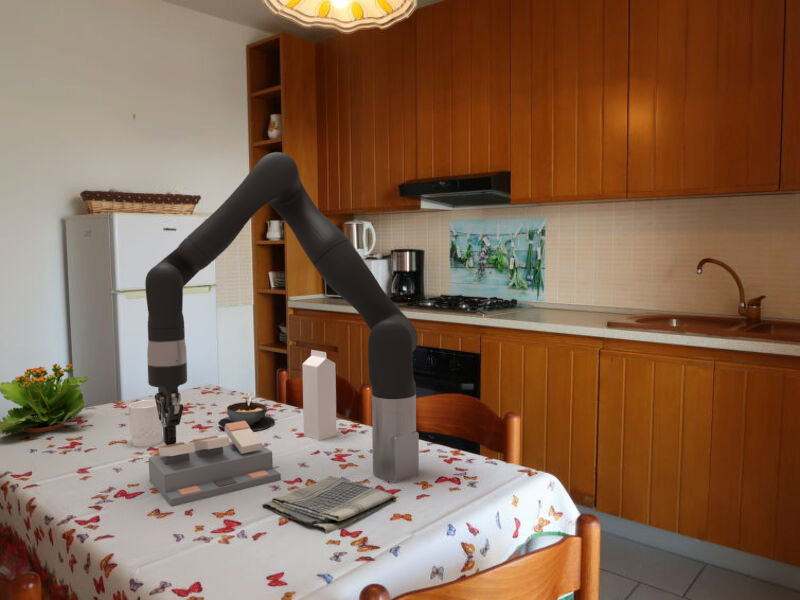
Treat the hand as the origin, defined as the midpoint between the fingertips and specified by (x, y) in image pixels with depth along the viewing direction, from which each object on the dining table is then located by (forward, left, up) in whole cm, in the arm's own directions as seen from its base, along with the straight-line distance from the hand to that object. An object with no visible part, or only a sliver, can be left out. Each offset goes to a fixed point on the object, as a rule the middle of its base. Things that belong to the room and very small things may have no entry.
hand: (169, 443), depth 127 cm
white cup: (+28, -2, -8) cm, 30 cm away
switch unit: (-5, -7, -8) cm, 11 cm away
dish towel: (-32, -20, -8) cm, 38 cm away
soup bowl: (+28, -28, -8) cm, 41 cm away
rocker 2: (-5, -7, 0) cm, 8 cm away
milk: (+7, -39, -8) cm, 40 cm away
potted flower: (+60, +17, -8) cm, 63 cm away
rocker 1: (-5, 0, 0) cm, 5 cm away
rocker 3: (-5, -14, 0) cm, 15 cm away
